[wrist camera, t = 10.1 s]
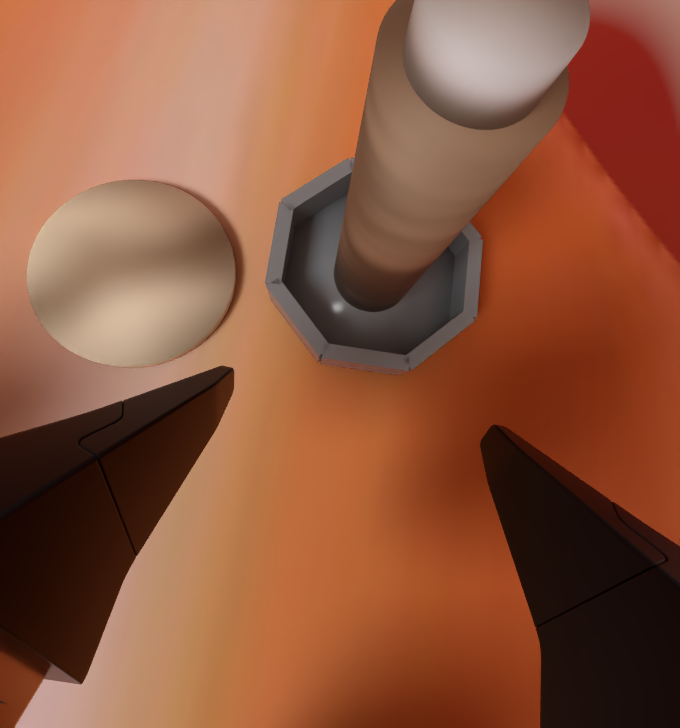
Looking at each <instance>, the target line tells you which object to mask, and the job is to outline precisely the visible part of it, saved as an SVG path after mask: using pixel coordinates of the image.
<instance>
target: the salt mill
mask: <svg viewBox="0 0 680 728" xmlns="http://www.w3.org/2000/svg"><path fill="white" fill-rule="evenodd" d="M589 23H590V6H589V0H396V1H395V2H394V4H393V5H392V6H391V7H390V8H389V10H388V12H387V13H386V15H385V16H384V18H383V21H382V23H381V25H380V28H379V32H378V36H377V41H376V46H375V52H374V57H373V62H372V68H371V73H370V78H369V84H368V89H367V95H366V100H365V105H364V111H363V116H362V121H361V127H360V132H359V137H358V143H357V148H356V154H355V159H354V164H353V170H352V175H351V180H350V186H349V191H348V196H347V202H346V207H345V213H344V218H343V223H342V229H341V234H340V239H339V245H338V250H337V255H336V261H335V266H334V281H335V285H336V287H337V290H338V292H339V293H340V295H341V296H342V297H343V299H344V300H345V301H346V302H347V303H349V304H350V305H352V306H353V307H355V308H357V309H359V310H362V311H366V312H380V311H384V310H387V309H390V308H392V307H393V306H395V305H396V304H397V303H398V302H399V301H400V300H401V299H402V298H403V297H404V296H405V295H406V294H407V292H408V291H409V290H410V289H411V288H412V287H413V286H414V284H415V283H416V282H417V281H418V280H419V279H420V278H421V276H422V275H423V274H424V273H425V272H426V271H427V270H428V269H429V267H430V266H431V265H432V264H433V263H434V262H435V261H436V259H437V258H438V257H439V256H440V255H441V254H442V253H443V251H444V250H445V249H446V248H447V247H448V246H449V245H450V244H451V242H452V241H453V240H454V239H455V238H456V237H457V236H458V234H459V233H460V232H461V231H462V230H463V229H464V228H465V226H466V225H467V224H468V223H469V222H470V221H471V220H472V219H473V217H474V216H475V215H476V214H477V213H478V212H479V211H480V209H481V208H482V207H483V206H484V205H485V204H486V203H487V201H488V200H489V199H490V198H491V197H492V196H493V195H494V194H495V192H496V191H497V190H498V189H499V188H500V187H501V186H502V184H503V183H504V182H505V181H506V180H507V179H508V178H509V176H510V175H511V174H512V173H513V172H514V171H515V170H516V169H517V167H518V166H519V165H520V164H521V163H522V162H523V161H524V159H525V158H526V157H527V156H528V155H529V154H530V153H531V151H532V150H533V149H534V148H535V147H536V146H537V145H538V144H539V142H540V141H541V140H542V139H543V138H544V137H545V136H546V134H547V133H548V132H549V131H550V130H551V129H552V128H553V126H554V125H555V124H556V122H557V121H558V119H559V118H560V116H561V114H562V112H563V109H564V107H565V104H566V100H567V97H568V89H569V73H568V66H567V65H568V63H569V62H570V61H571V59H572V58H573V57H574V55H575V54H576V53H577V52H578V50H579V49H580V47H581V46H582V44H583V42H584V40H585V38H586V35H587V32H588V29H589Z"/></svg>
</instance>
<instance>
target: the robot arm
mask: <svg viewBox="0 0 680 728" xmlns="http://www.w3.org/2000/svg"><path fill="white" fill-rule="evenodd" d="M233 390H234V369H233V368H231V367H226V366H219V367H216V368H213V369H211V370H208V371H205V372H202V373H199V374H197V375H194V376H191V377H188V378H185V379H183V380H180V381H177V382H174V383H171V384H168V385H166V386H163V387H160V388H157V389H154V390H152V391H149V392H146V393H143V394H140V395H137V396H135V397H132V398H129V399H126V400H124V401H119V402H117V403H114V404H111V405H108V406H105V407H102V408H99V409H96V410H93V411H90V412H87V413H84V414H81V415H77V416H74V417H71V418H67V419H64V420H60V421H57V422H54V423H50V424H47V425H43V426H40V427H36V428H33V429H29V430H26V431H22V432H19V433H15V434H12V435H8V436H5V437H1V438H0V728H15V726H16V724H17V723H18V721H19V719H20V718H21V716H22V714H23V713H24V711H25V709H26V708H27V706H28V704H29V703H30V701H31V699H32V698H33V696H34V694H35V693H36V691H37V689H38V688H39V686H40V684H41V683H42V681H43V679H48V680H55V681H62V682H68V683H75V684H82V683H83V681H84V679H85V677H86V675H87V673H88V671H89V668H90V666H91V663H92V661H93V658H94V655H95V653H96V650H97V648H98V645H99V642H100V640H101V637H102V635H103V632H104V630H105V627H106V624H107V622H108V619H109V617H110V614H111V611H112V609H113V606H114V604H115V601H116V599H117V596H118V593H119V591H120V588H121V586H122V583H123V581H124V579H125V577H126V575H127V573H128V571H129V569H130V567H131V565H132V563H133V562H134V560H135V558H136V556H137V555H138V554H139V552H140V550H141V549H142V547H143V546H144V544H145V542H146V541H147V539H148V538H149V536H150V534H151V533H152V531H153V530H154V528H155V526H156V525H157V523H158V522H159V520H160V518H161V517H162V515H163V514H164V512H165V510H166V509H167V507H168V506H169V504H170V502H171V501H172V499H173V498H174V496H175V494H176V493H177V491H178V490H179V488H180V486H181V485H182V483H183V482H184V480H185V478H186V477H187V475H188V474H189V472H190V470H191V469H192V467H193V466H194V464H195V462H196V461H197V459H198V458H199V456H200V454H201V453H202V451H203V450H204V448H205V446H206V445H207V443H208V442H209V440H210V438H211V437H212V435H213V434H214V432H215V430H216V428H217V427H218V425H219V422H220V420H221V418H222V416H223V414H224V411H225V409H226V407H227V405H228V402H229V400H230V398H231V396H232V393H233ZM480 448H481V453H482V458H483V462H484V467H485V472H486V477H487V481H488V485H489V488H490V491H491V494H492V497H493V500H494V503H495V506H496V509H497V512H498V515H499V518H500V521H501V524H502V527H503V530H504V534H505V537H506V540H507V543H508V546H509V549H510V552H511V555H512V558H513V561H514V564H515V567H516V570H517V573H518V576H519V579H520V582H521V585H522V588H523V591H524V594H525V597H526V600H527V603H528V606H529V609H530V612H531V615H532V618H533V621H534V624H535V627H537V628H536V631H537V634H538V638H539V642H540V649H541V700H540V728H680V546H678V545H677V544H675V543H674V542H672V541H671V540H669V539H668V538H666V537H664V536H663V535H661V534H660V533H658V532H657V531H655V530H654V529H652V528H651V527H649V526H648V525H646V524H645V523H643V522H642V521H640V520H639V519H638V518H636V517H635V516H633V515H632V514H630V513H629V512H627V511H626V510H624V509H623V508H622V507H620V506H619V505H617V504H616V503H614V502H611V501H610V500H609V499H608V498H607V497H605V496H604V495H602V494H601V493H599V492H598V491H596V490H595V489H594V488H592V487H591V486H589V485H588V484H586V483H585V482H584V481H582V480H581V479H579V478H578V477H576V476H575V475H574V474H572V473H571V472H569V471H568V470H566V469H565V468H564V467H562V466H561V465H559V464H558V463H556V462H555V461H554V460H552V459H551V458H549V457H548V456H546V455H545V454H544V453H542V452H541V451H539V450H538V449H536V448H535V447H533V446H532V445H531V444H529V443H528V442H526V441H525V440H523V439H522V438H521V437H519V436H518V435H516V434H515V433H513V432H512V431H511V430H509V429H508V428H506V427H504V426H500V425H492V426H491V427H490V428H489V430H488V431H487V433H486V434H485V435H484V437H483V438H482V440H481V443H480Z"/></svg>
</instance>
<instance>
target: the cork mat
mask: <svg viewBox="0 0 680 728" xmlns="http://www.w3.org/2000/svg"><path fill="white" fill-rule="evenodd" d="M235 284H236V263H235V257H234V252H233V249H232V246H231V243H230V241H229V239H228V237H227V235H226V233H225V230H224V228H223V227H222V225H221V224H220V222H219V221H218V219H217V218H216V217H215V216H214V215H213V213H212V212H211V211H210V210H209V209H208V208H207V207H206V206H205V205H203V204H202V203H201V202H200V201H199V200H197V199H196V198H194V197H193V196H191V195H190V194H188V193H186V192H184V191H182V190H180V189H178V188H175V187H172V186H170V185H167V184H163V183H159V182H154V181H146V180H123V181H115V182H110V183H106V184H102V185H99V186H96V187H93V188H90V189H88V190H86V191H84V192H82V193H80V194H78V195H76V196H75V197H73V198H72V199H70V200H68V201H67V202H66V203H65V204H63V205H62V206H61V207H60V208H58V209H57V210H56V211H55V212H54V213H53V215H52V216H51V217H50V218H49V219H48V220H47V221H46V223H45V224H44V226H43V227H42V228H41V230H40V232H39V233H38V235H37V237H36V239H35V241H34V244H33V246H32V249H31V252H30V256H29V260H28V265H27V287H28V293H29V297H30V301H31V304H32V307H33V309H34V311H35V314H36V316H37V317H38V319H39V321H40V322H41V324H42V326H43V327H44V328H45V329H46V330H47V332H48V333H49V334H50V335H51V336H52V337H53V338H54V339H55V340H56V341H57V342H58V343H59V344H60V345H62V346H63V347H65V348H66V349H68V350H69V351H71V352H72V353H74V354H76V355H78V356H80V357H82V358H85V359H88V360H90V361H93V362H96V363H101V364H105V365H110V366H115V367H127V368H136V367H148V366H154V365H158V364H162V363H165V362H169V361H171V360H174V359H176V358H178V357H181V356H183V355H185V354H186V353H188V352H190V351H191V350H193V349H195V348H196V347H197V346H198V345H200V344H201V343H202V342H204V341H205V340H206V339H207V338H208V337H209V336H210V335H211V334H212V333H213V332H214V331H215V329H216V328H217V327H218V325H219V324H220V323H221V321H222V320H223V318H224V316H225V315H226V313H227V311H228V309H229V306H230V304H231V301H232V298H233V294H234V290H235Z"/></svg>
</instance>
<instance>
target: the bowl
mask: <svg viewBox="0 0 680 728" xmlns="http://www.w3.org/2000/svg"><path fill="white" fill-rule="evenodd" d="M354 159H355V158H352V157H351V161H350V160H349V158H347V159H345V160H344V161H342V162H341V163H339V164H337V165H336V166H334V167H333V168H331V169H329V170H328V171H326V172H325V173H323V174H321V175H320V176H318V177H316V178H315V179H313V180H312V181H310V182H308V183H307V184H305V185H304V186H302V187H300V188H299V189H297V190H296V191H294V192H292V193H291V194H289V195H288V196H286V197H284V198H283V199H281V202H282V203H281V202H279V207H278V213H277V218H276V224H275V229H274V235H273V241H272V246H271V252H270V258H269V263H268V269H267V275H266V280H265V283H266V287H267V290H268V293H269V296H270V298H271V301H272V302H273V304H274V305H275V306H276V308H277V309H278V310H279V312H280V313H281V314H282V316H283V317H284V318H285V320H286V321H287V322H288V324H289V325H290V326H291V328H292V329H293V330H294V332H295V333H296V334H297V336H298V337H299V338H300V340H301V341H302V342H303V344H304V345H305V346H306V348H307V349H308V350H309V352H310V353H311V354H312V356H313V357H314V358H315V360H316V361H317V362H319V361H320V360H321V363H320V364H324V365H331V366H338V367H345V368H351V369H358V370H365V371H372V372H378V373H385V374H392V375H398V374H402V373H405V372H408V371H411V370H413V369H414V368H415V367H417V366H418V365H419V364H420V363H422V362H423V361H424V360H426V359H427V358H428V357H429V356H431V355H432V354H433V353H434V352H436V351H437V350H438V349H440V348H441V347H442V346H443V345H445V344H446V343H447V342H449V341H450V340H451V339H452V338H454V337H455V336H456V335H457V334H459V333H460V332H461V331H463V330H464V329H465V328H466V327H468V326H469V325H470V324H472V323H473V322H474V321H475V318H477V311H478V299H479V286H480V273H481V260H482V247H483V240H480V238H481V237H482V236H481V235H480V234H479V232H478V231H477V230H476V229H475V227H474V226H473V225H472V224H471V222H469V223H468V224H467V225H466V226H465V228H464V229H463V230H462V231H461V232H460V233H459V234H458V236H457V237H456V238H455V239H454V240H453V241H452V242H451V244H450V245H449V246H448V247H447V248H446V249H445V250H444V251H443V253H442V254H441V255H440V256H439V257H438V258H437V259H436V261H435V262H434V263H433V264H432V265H431V266H430V267H429V269H428V270H427V271H426V272H425V273H424V274H423V275H422V276H421V278H420V279H419V280H418V281H417V282H416V283H415V284H414V286H413V287H412V288H411V289H410V290H409V291H408V292H407V294H406V295H405V296H404V297H403V298H402V299H401V300H400V301H399V302H398V303H397V304H396V305H395V306H393V307H392V308H390V309H387V310H384V311H380V312H366V311H362V310H359V309H357V308H355V307H353V306H352V305H350V304H349V303H347V302H346V301H345V300H344V299H343V297H342V296H341V295H340V293H339V292H338V290H337V287H336V285H335V281H334V266H335V261H336V255H337V250H338V245H339V239H340V234H341V229H342V223H343V218H344V213H345V207H346V202H347V196H348V191H349V186H350V180H351V175H352V170H353V164H354Z"/></svg>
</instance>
